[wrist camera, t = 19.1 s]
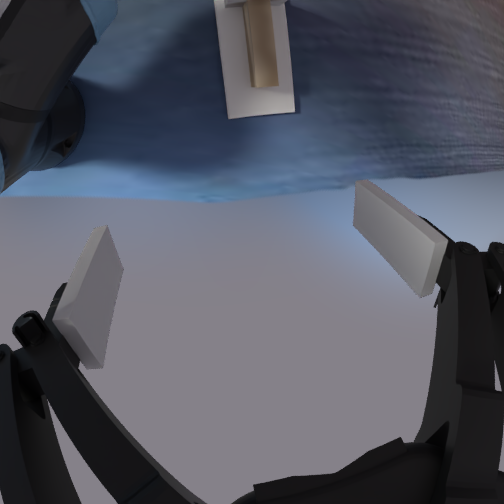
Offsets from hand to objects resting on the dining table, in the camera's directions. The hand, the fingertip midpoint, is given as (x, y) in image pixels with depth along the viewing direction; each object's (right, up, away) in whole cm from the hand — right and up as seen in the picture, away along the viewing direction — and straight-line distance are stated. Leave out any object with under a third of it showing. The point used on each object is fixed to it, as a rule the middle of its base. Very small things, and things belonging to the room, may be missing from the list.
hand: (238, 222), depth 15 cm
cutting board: (+1, +29, +20) cm, 35 cm away
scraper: (+1, +28, +20) cm, 34 cm away
